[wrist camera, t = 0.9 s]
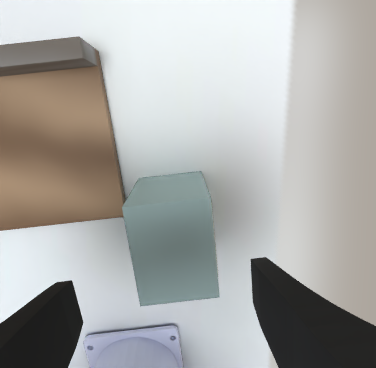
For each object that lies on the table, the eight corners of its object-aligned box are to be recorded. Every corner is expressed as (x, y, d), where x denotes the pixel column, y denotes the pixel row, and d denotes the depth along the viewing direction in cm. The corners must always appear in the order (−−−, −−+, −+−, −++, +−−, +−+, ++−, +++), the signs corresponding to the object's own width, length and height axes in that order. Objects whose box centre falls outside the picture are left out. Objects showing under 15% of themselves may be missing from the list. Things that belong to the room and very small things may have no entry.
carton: (151, 251, 20) (140, 306, 15) (139, 177, 19) (121, 207, 13) (209, 244, 20) (221, 296, 15) (202, 170, 19) (213, 197, 13)
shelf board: (127, 212, 19) (117, 232, 16) (-47, 231, 19) (-91, 255, 16) (97, 47, 16) (78, 32, 13) (-110, 70, 16) (-179, 60, 13)
